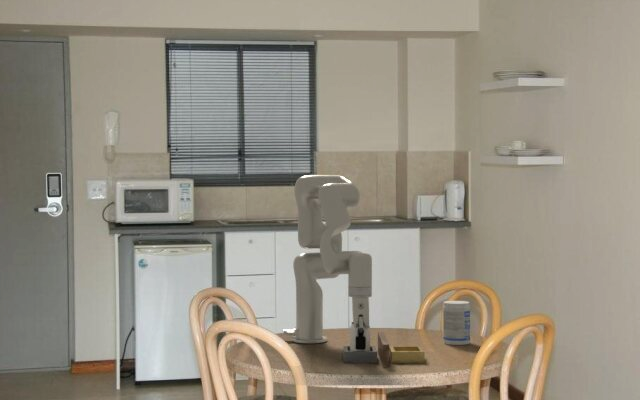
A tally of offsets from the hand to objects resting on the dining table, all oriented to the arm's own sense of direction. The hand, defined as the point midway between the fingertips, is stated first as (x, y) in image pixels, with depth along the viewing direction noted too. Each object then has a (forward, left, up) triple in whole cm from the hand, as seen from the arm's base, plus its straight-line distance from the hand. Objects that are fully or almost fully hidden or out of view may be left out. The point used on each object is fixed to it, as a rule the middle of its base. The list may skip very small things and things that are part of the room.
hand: (360, 346), depth 313 cm
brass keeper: (+15, 0, -4) cm, 16 cm away
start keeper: (0, 0, -4) cm, 4 cm away
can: (0, 0, -4) cm, 4 cm away
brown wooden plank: (+7, 0, -4) cm, 9 cm away
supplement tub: (+35, +30, -4) cm, 47 cm away
